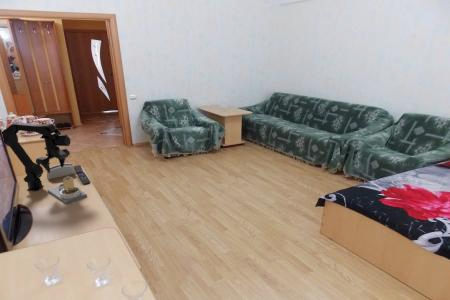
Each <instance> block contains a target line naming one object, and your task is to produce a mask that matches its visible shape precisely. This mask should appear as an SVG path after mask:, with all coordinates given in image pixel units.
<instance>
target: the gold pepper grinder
mask: <svg viewBox="0 0 450 300" xmlns="http://www.w3.org/2000/svg"><path fill="white" fill-rule="evenodd" d="M62 182H63V183H62V184H64V189H65V192H64V194H72V193H75V192H77V191H76V190H75V187H76V186H75V181H74V178H73V176H70V175H66V176H65V177H64V178H63V179H62ZM74 186H75V187H74Z"/></svg>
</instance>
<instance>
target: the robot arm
mask: <svg viewBox="0 0 450 300" xmlns="http://www.w3.org/2000/svg"><path fill="white" fill-rule="evenodd" d="M21 131H22V132H31V133H37V134H39V135H41V136H40V139H43V141H44V144H45V147H44V150H46V154H45V157H44V156H41V157H38V158H36V159H35V162H34V161H33V160H32V158H31V157H30V156H29V154H28V153H27V151H25V149H24V148H23V146H22V145H21V144H20V142H19V136H18V133H19V132H21ZM1 132H2V134H3V138H4V143H5V144H4V143H3V144H4V145H6V146H8V147H9V148H10V149H11V151H12V152H13V153H14V154H15V156H16V158H18V160H19V161H20V163H21V164H22V165H23V166H24V171H25V174H26V175H25V177H24V178H23V181H24V182H25V183H27V187H28V188H27V189H26V190H27V191H34V192H35V191H38V190H40V189H41V188H43V187H44V184H43V183H42V180H41V177H43V176H42V175H43V174H44V169H45V170H46V173H47V172H48V173H50V167H51V166H50V164H51V162H50V160H52V159H53V160H54V159H58V161H59V164H60V165H61V167H63V166H64V163H65V161H66V158H68V157H69V156H70V154H71V152H70V151H69V149H67V148H64V149H63V148H62V149H61V148H60V147H69V146H71V138H70V137H69V136H68V134H67V133H66V134H62V133H61V132H60V131H59V130H58V128H57V127H56V125H54V124H53V123H42V124H37V123H36V124H35V123H25V122H19V121H17V122H14V123H11V124H10V125H9V126H8V127H7V128H5V129H3V130H2V131H1Z"/></svg>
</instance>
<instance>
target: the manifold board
mask: <svg viewBox="0 0 450 300" xmlns="http://www.w3.org/2000/svg"><path fill="white" fill-rule="evenodd" d="M74 187H75V190H76V191H77V192H75V193H72V194H64V192H65V189H64V184H63V183H59V184H58V186H55V187H51V188H48V189H47V193H48V194H51V195H52V196H53V197H54V198H56V199H58V200H59V201H61V202H62V203H63V204H66V205H68V204H70V202H71V203H72V202H76V201H79V200H81V199H84V198H86V197H87V196H88V195H87V193H86V192H84V191H82V190H81V187H79V186H75V185H74ZM75 200H76V201H75Z"/></svg>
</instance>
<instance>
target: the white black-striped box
mask: <svg viewBox="0 0 450 300" xmlns="http://www.w3.org/2000/svg"><path fill="white" fill-rule="evenodd" d="M49 167H50V173H48V172H47V171H46V178H47V180H52V179H58V178H60V177H61V178H62V177H66V176H70V175H74V174H75V173H76V172H75V169H74V165H73V163H72V162H69V163H68V162H64V166H63V167H61V165H60V163H59V164H55V165H52V166H49Z"/></svg>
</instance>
